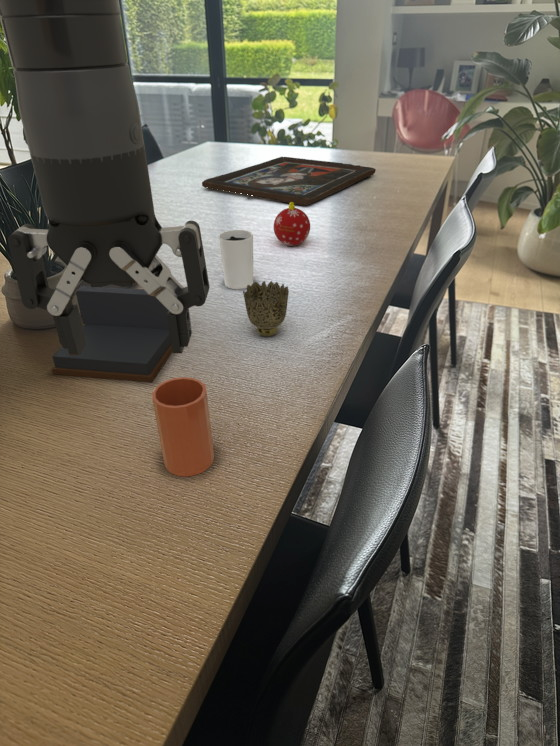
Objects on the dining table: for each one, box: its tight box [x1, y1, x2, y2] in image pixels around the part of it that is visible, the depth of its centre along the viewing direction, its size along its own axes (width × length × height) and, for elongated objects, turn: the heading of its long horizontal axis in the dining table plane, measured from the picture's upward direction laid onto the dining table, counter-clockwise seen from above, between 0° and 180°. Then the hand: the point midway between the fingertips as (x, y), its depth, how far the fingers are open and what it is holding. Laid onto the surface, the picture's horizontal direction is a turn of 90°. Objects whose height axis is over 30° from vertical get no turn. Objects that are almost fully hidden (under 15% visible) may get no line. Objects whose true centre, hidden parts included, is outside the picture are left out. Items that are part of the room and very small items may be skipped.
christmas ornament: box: [273, 202, 311, 247], centre depth 128 cm, size 9×9×10 cm
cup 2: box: [242, 280, 290, 337], centre depth 91 cm, size 8×7×8 cm
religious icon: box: [201, 156, 377, 206], centre depth 179 cm, size 40×45×3 cm
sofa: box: [51, 285, 173, 383], centre depth 86 cm, size 16×13×9 cm
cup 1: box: [151, 376, 215, 477], centre depth 64 cm, size 6×6×10 cm
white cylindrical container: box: [218, 229, 254, 290], centre depth 109 cm, size 7×7×10 cm
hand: (128, 349), depth 46 cm, fingers open, 8 cm apart
